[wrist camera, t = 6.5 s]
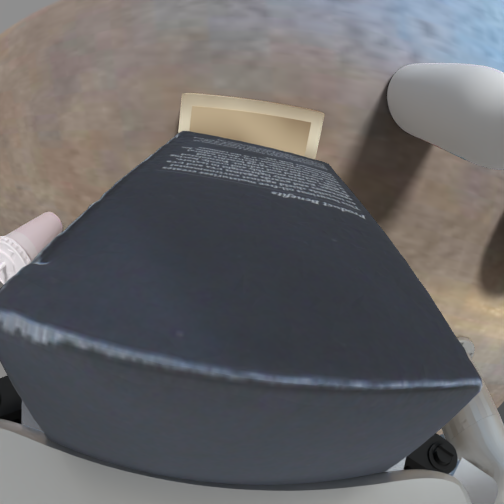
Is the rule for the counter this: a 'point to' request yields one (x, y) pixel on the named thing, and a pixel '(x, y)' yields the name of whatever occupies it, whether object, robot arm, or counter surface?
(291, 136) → the base
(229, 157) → the small box
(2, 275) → the smoothie
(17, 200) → the counter surface
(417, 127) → the milk bottle
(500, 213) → the counter surface
